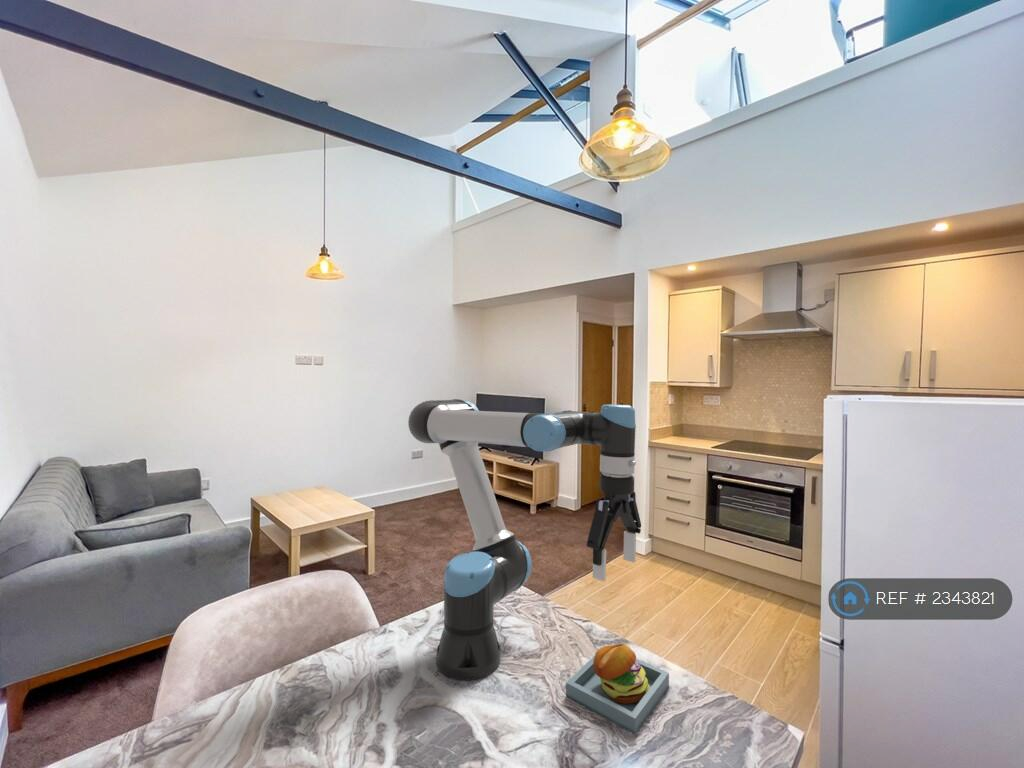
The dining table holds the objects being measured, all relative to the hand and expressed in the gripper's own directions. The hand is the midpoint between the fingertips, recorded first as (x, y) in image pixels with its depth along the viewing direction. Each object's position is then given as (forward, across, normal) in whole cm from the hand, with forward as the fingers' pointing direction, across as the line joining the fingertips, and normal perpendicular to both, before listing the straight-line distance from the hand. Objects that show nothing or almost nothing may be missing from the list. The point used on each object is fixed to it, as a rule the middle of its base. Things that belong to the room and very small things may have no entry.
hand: (615, 569), depth 97 cm
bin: (+24, -3, -3) cm, 25 cm away
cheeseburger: (+24, -3, -4) cm, 24 cm away
